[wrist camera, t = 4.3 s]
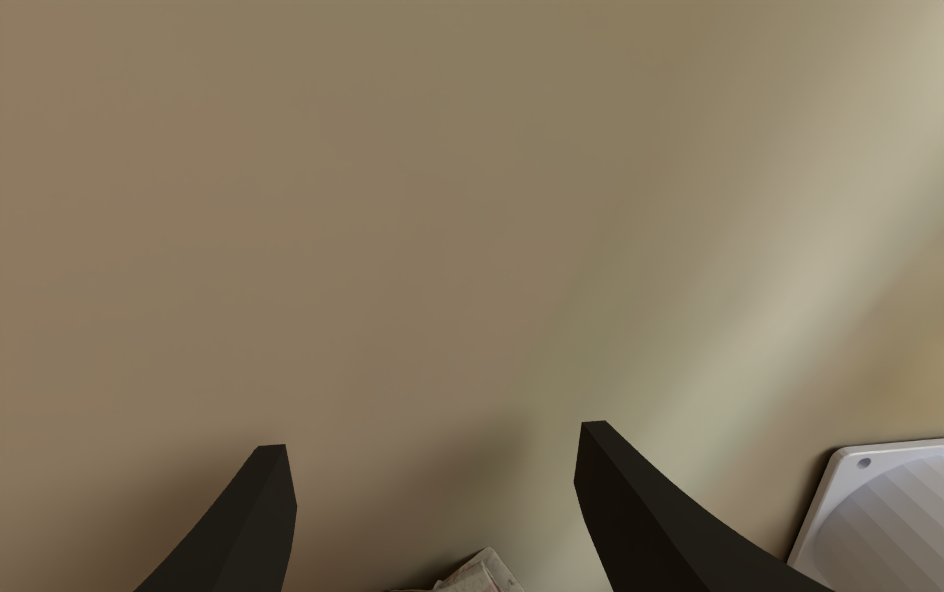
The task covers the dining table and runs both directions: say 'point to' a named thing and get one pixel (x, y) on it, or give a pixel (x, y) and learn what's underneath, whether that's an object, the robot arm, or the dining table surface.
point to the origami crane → (478, 576)
